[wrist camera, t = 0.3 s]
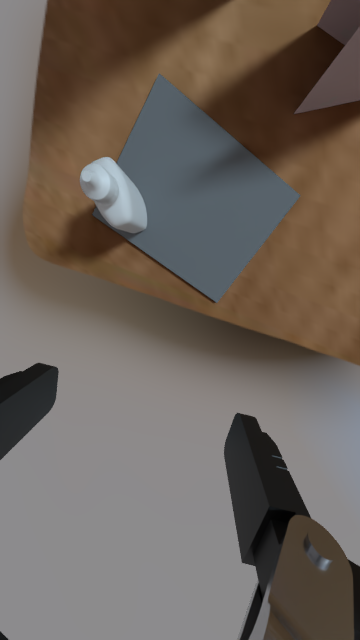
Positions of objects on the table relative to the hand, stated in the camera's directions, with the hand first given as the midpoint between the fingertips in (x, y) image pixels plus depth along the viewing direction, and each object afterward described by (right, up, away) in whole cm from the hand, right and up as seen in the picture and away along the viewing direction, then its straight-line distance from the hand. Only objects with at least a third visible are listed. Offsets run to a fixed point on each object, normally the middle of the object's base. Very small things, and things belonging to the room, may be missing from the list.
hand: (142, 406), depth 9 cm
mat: (+3, +18, +16) cm, 25 cm away
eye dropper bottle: (-4, +18, +17) cm, 25 cm away
